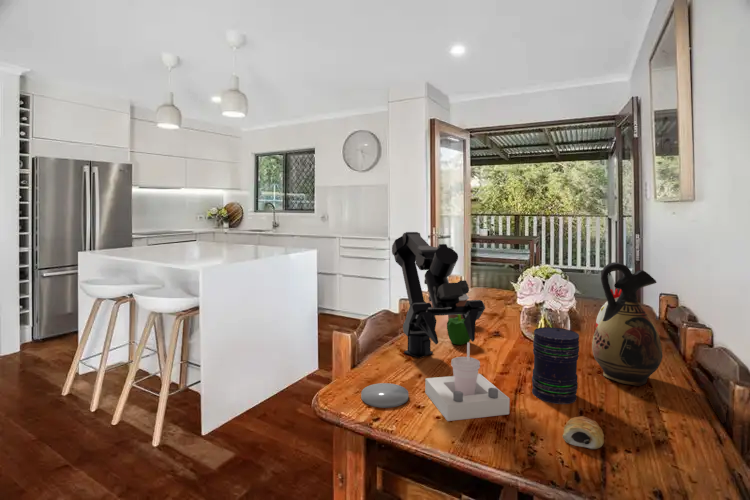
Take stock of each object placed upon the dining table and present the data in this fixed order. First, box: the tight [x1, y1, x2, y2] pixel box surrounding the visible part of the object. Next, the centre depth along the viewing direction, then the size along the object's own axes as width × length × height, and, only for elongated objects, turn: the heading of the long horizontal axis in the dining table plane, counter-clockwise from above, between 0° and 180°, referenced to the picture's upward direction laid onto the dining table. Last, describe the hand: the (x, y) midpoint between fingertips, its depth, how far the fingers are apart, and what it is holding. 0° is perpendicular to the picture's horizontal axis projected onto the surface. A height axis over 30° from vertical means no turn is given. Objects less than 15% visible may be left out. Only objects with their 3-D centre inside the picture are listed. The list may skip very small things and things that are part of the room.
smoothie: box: [450, 341, 481, 396], centre depth 93 cm, size 6×6×14 cm
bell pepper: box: [446, 314, 471, 345], centre depth 137 cm, size 8×8×10 cm
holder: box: [424, 373, 511, 422], centre depth 94 cm, size 14×14×5 cm
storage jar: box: [531, 326, 580, 405], centre depth 97 cm, size 10×10×15 cm
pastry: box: [562, 415, 605, 450], centre depth 79 cm, size 9×7×4 cm
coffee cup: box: [447, 294, 470, 321], centre depth 164 cm, size 9×9×12 cm
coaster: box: [360, 382, 409, 409], centre depth 97 cm, size 11×11×1 cm
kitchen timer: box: [595, 288, 622, 328], centre depth 153 cm, size 14×14×15 cm
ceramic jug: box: [591, 261, 664, 387], centre depth 107 cm, size 17×15×30 cm
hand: (455, 342), depth 99 cm, fingers open, 9 cm apart
